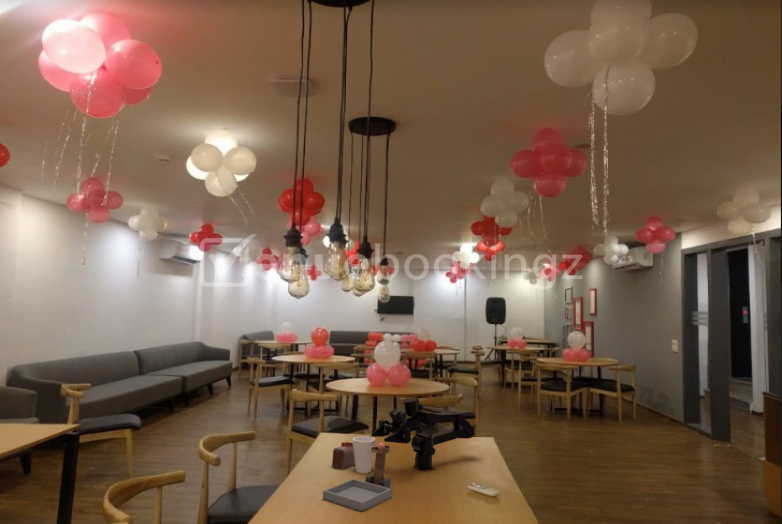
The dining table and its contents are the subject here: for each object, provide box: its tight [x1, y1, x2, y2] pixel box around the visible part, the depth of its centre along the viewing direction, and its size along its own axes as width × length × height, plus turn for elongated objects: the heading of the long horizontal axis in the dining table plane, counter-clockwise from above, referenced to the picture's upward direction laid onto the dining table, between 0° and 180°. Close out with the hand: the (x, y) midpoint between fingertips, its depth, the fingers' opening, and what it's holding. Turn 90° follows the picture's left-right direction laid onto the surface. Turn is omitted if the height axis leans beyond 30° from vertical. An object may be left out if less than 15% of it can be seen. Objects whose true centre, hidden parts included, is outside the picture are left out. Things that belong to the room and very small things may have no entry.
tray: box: [322, 478, 393, 513], centre depth 191 cm, size 17×18×3 cm
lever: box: [371, 444, 391, 485], centre depth 202 cm, size 5×5×15 cm
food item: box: [331, 441, 355, 471], centre depth 230 cm, size 14×8×10 cm, turn 152°
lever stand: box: [365, 473, 392, 489], centre depth 201 cm, size 4×9×4 cm, turn 55°
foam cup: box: [352, 435, 376, 474], centre depth 223 cm, size 10×9×13 cm
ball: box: [376, 441, 386, 450], centre depth 204 cm, size 3×3×3 cm
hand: (377, 437), depth 215 cm, fingers open, 9 cm apart
